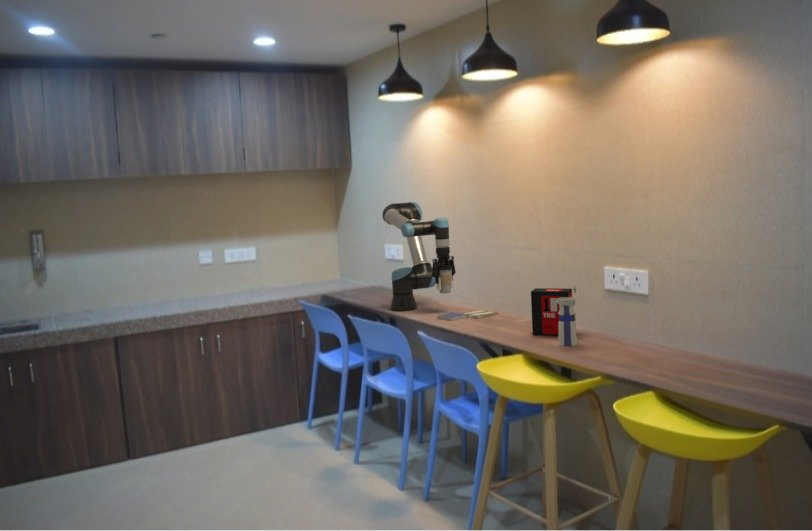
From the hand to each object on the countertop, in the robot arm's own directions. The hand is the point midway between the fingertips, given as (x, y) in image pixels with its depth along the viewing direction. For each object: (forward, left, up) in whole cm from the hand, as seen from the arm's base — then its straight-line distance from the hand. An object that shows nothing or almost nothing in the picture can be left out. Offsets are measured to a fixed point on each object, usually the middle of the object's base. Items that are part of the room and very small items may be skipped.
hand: (444, 288), depth 375 cm
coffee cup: (0, 0, -3) cm, 3 cm away
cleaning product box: (+78, -6, -14) cm, 80 cm away
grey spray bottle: (+96, -18, -14) cm, 99 cm away
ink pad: (+12, -7, -14) cm, 20 cm away
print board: (+18, +6, -14) cm, 24 cm away
